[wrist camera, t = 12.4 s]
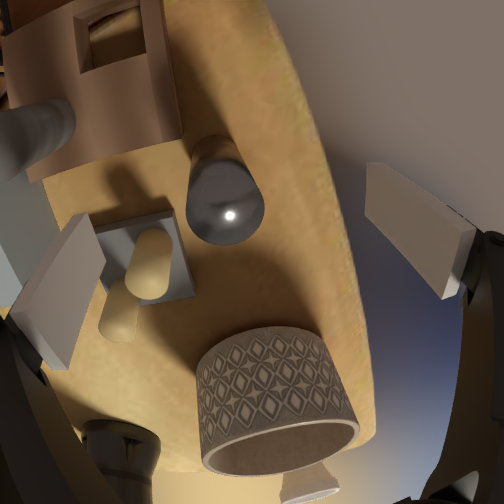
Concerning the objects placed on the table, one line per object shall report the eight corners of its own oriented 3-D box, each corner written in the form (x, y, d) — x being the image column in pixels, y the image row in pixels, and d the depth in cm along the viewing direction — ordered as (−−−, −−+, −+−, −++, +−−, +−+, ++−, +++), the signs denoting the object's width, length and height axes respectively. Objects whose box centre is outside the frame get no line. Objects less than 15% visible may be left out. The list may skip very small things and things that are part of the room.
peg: (196, 184, 23) (194, 251, 15) (187, 140, 21) (178, 181, 13) (242, 176, 23) (267, 237, 15) (235, 131, 21) (260, 167, 13)
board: (118, 299, 27) (105, 349, 22) (87, 229, 23) (61, 272, 18) (195, 286, 28) (196, 338, 23) (173, 209, 24) (166, 251, 18)
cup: (287, 450, 56) (301, 504, 44) (255, 443, 51) (268, 506, 39) (330, 430, 53) (350, 487, 41) (302, 421, 48) (322, 489, 36)
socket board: (46, 171, 20) (-22, 227, 11) (20, 41, 13) (-60, 39, 5) (183, 131, 21) (170, 167, 12) (161, -14, 14) (136, -72, 6)
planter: (167, 358, 33) (166, 457, 22) (291, 293, 30) (333, 399, 20) (241, 408, 42) (254, 482, 31) (340, 362, 39) (373, 439, 28)
